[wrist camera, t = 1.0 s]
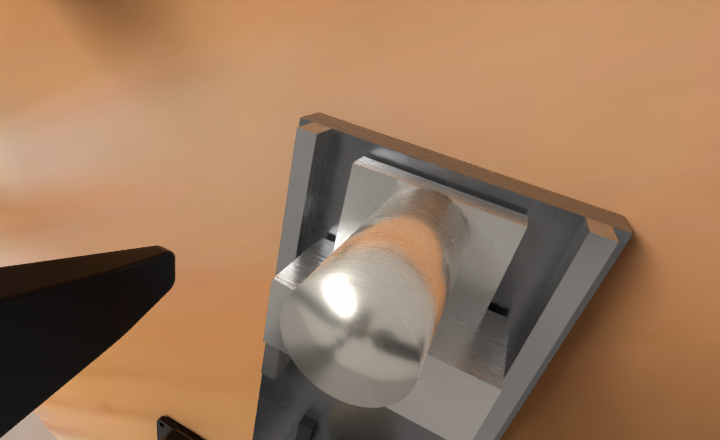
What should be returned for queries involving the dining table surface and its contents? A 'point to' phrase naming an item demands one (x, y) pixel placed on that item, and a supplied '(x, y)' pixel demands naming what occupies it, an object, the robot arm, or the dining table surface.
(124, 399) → the dining table surface
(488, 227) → the ram
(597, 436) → the dining table surface
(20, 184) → the dining table surface
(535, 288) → the press base
